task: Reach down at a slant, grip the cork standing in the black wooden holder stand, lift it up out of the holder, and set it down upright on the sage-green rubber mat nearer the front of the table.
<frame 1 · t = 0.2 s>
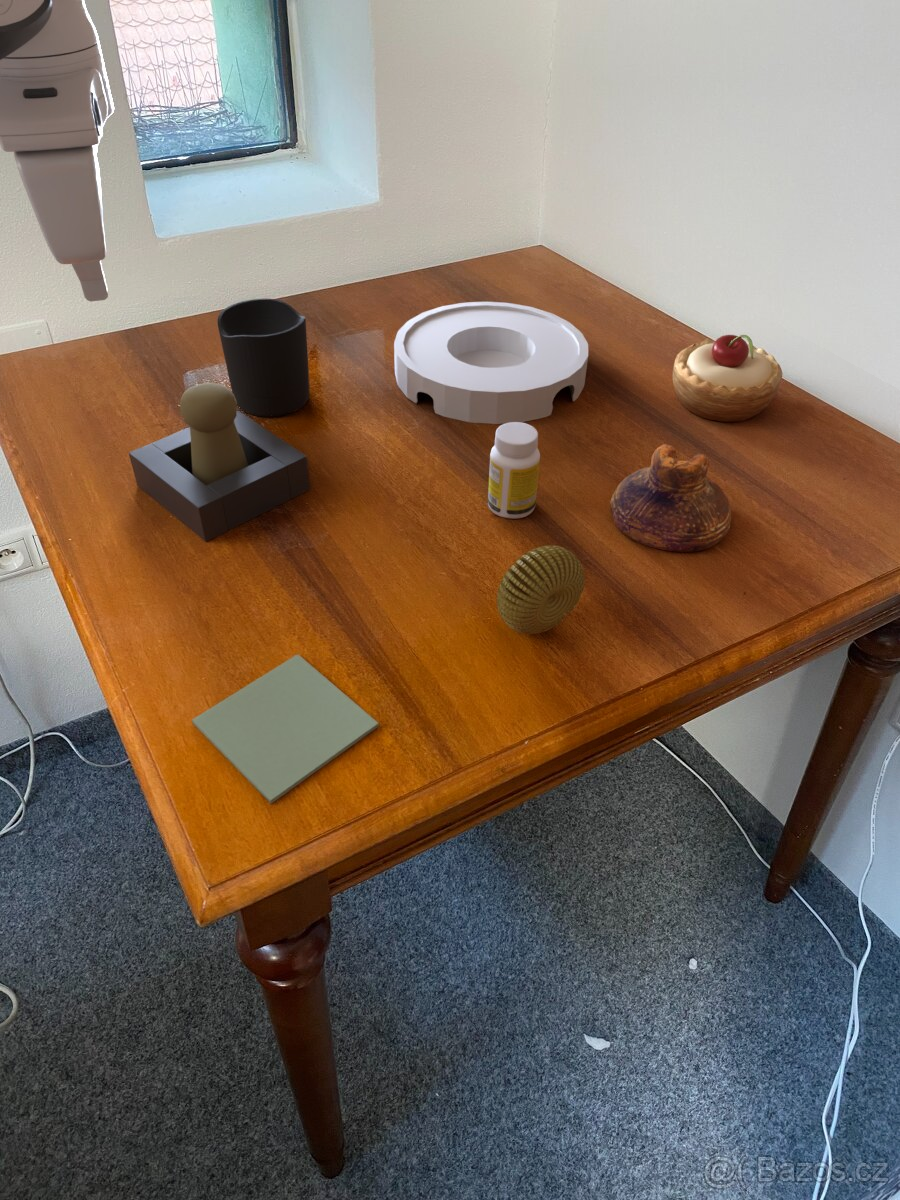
hand: (96, 273, 74), 22 cm above the table, tool pointing down, fingers open, 8 cm apart
supplement bottle: (511, 507, 87), on the table
sculpture: (536, 626, 75), on the table
ashtray: (489, 375, 107), on the table
pastry: (718, 403, 103), on the table
mat: (285, 724, 66), on the table
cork: (224, 489, 89), resting in holder stand
pen holder: (272, 400, 102), on the table
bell: (668, 518, 86), on the table
holder stand: (224, 487, 89), on the table
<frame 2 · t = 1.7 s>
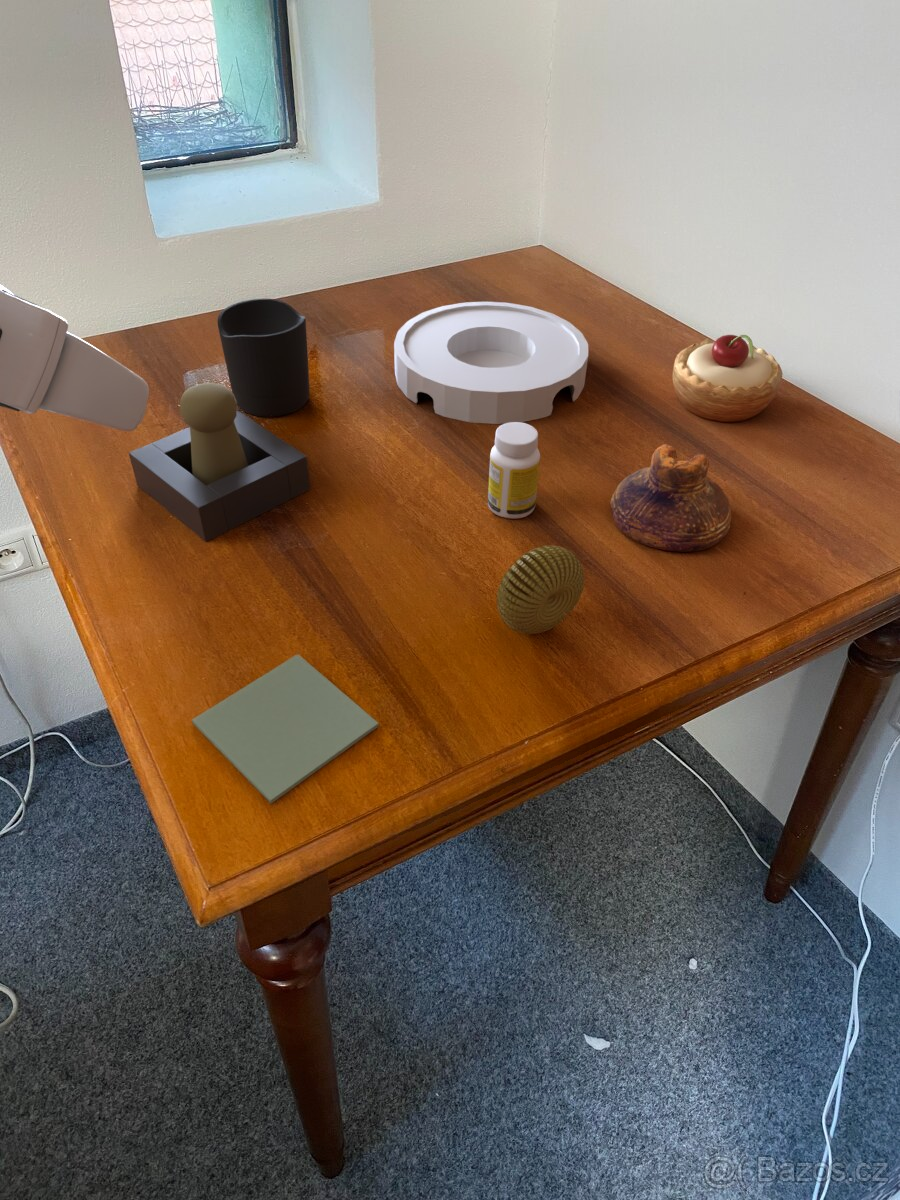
hand: (92, 397, 69), 16 cm above the table, tool tilted 45°, fingers open, 8 cm apart
nothing on the table moved.
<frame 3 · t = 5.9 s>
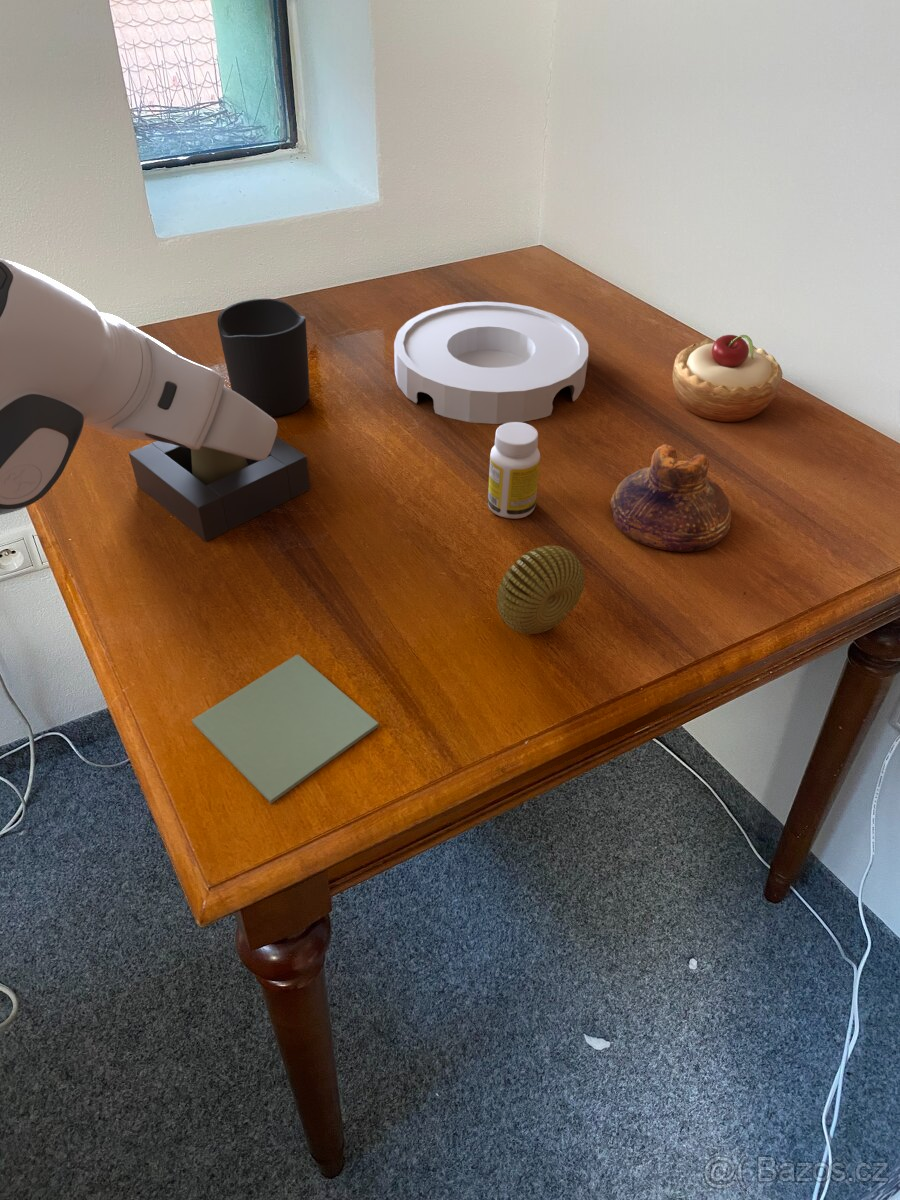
hand: (218, 429, 85), 6 cm above the table, tool tilted 45°, fingers closed on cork, 5 cm apart
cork: (224, 489, 89), resting in holder stand, touching gripper
everything else where it was.
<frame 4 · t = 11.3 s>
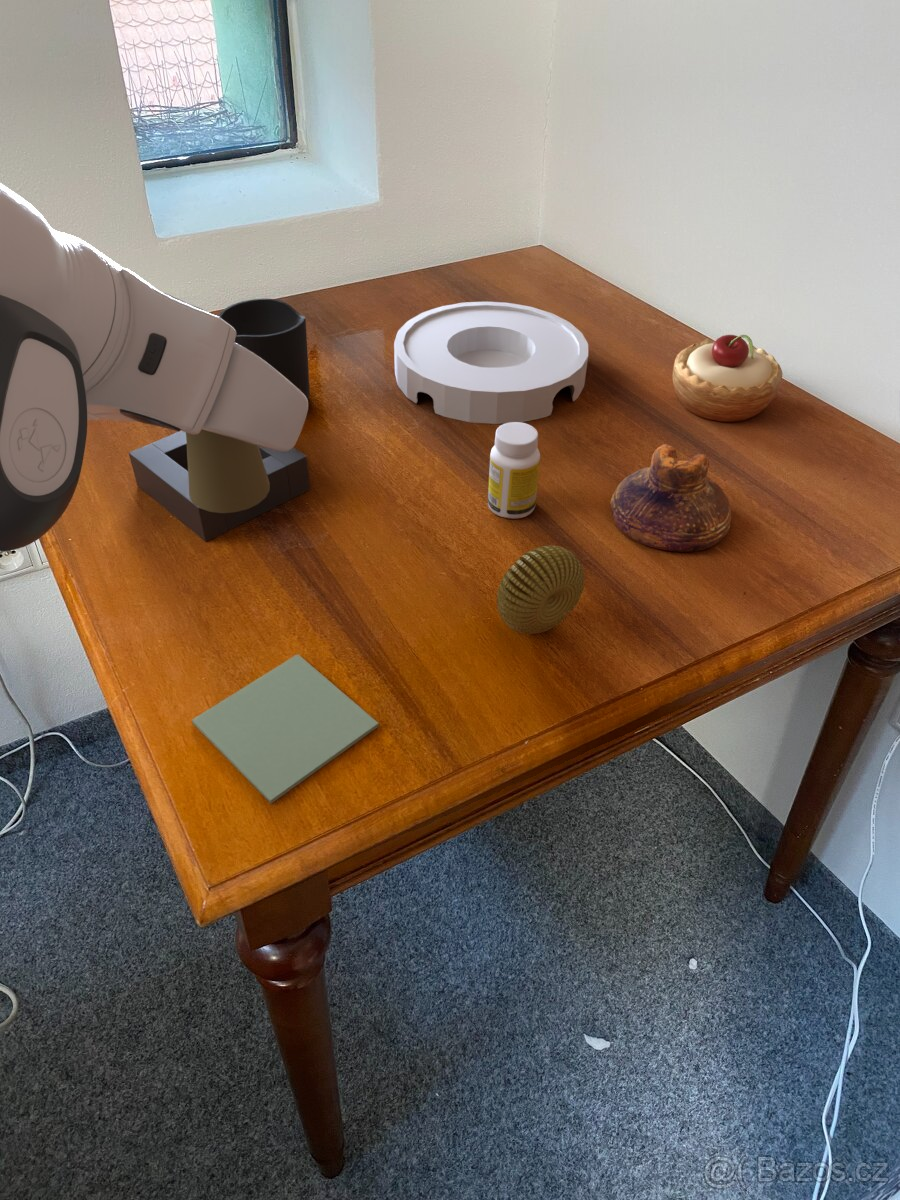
hand: (222, 412, 63), 19 cm above the table, tool tilted 45°, fingers closed on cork, 5 cm apart
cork: (230, 491, 67), point 13 cm above the table, touching gripper
everything else where it was.
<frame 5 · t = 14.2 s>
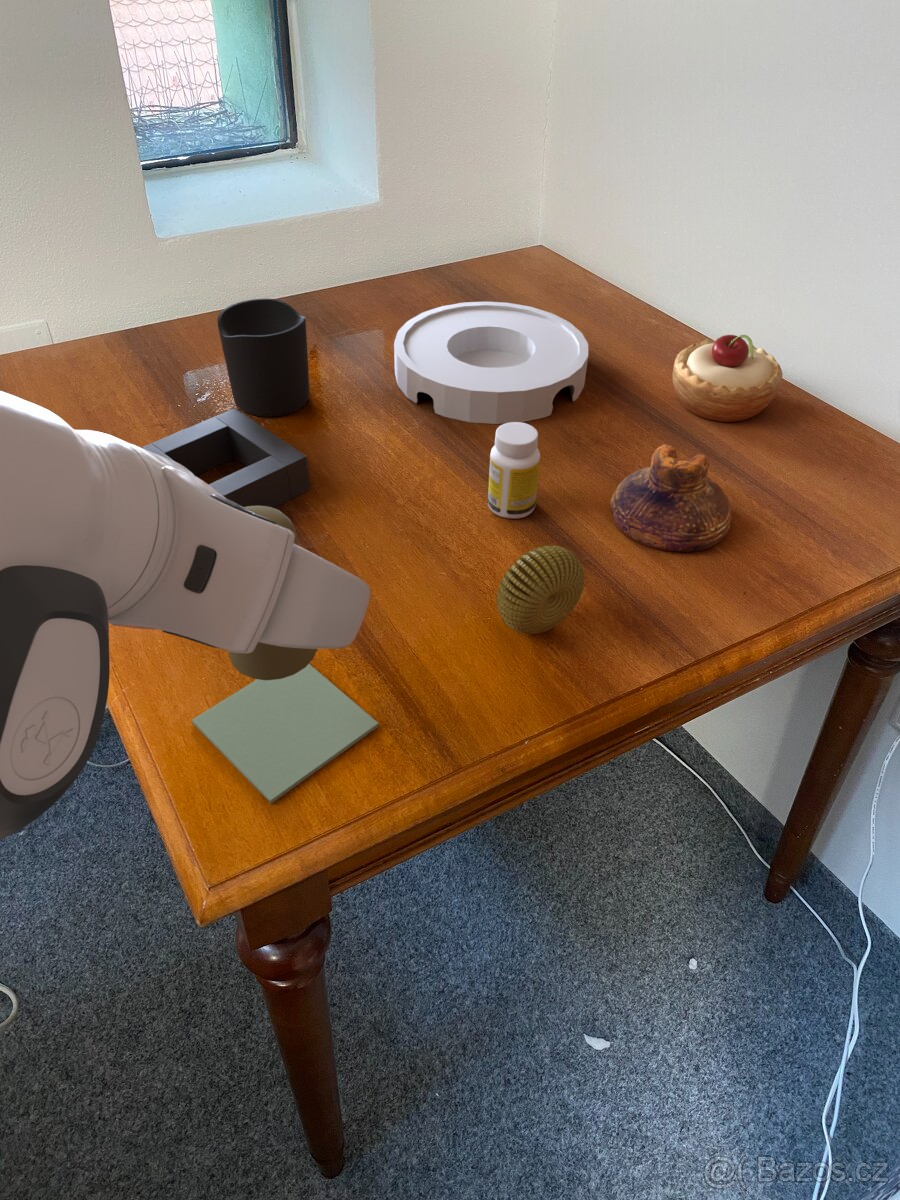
hand: (267, 573, 57), 15 cm above the table, tool tilted 45°, fingers closed on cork, 5 cm apart
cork: (273, 650, 61), point 8 cm above the table, touching gripper
everything else where it was.
when the fingers open (7 cm above the table, at t = 16.8 s): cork stays where it is, resting on mat.
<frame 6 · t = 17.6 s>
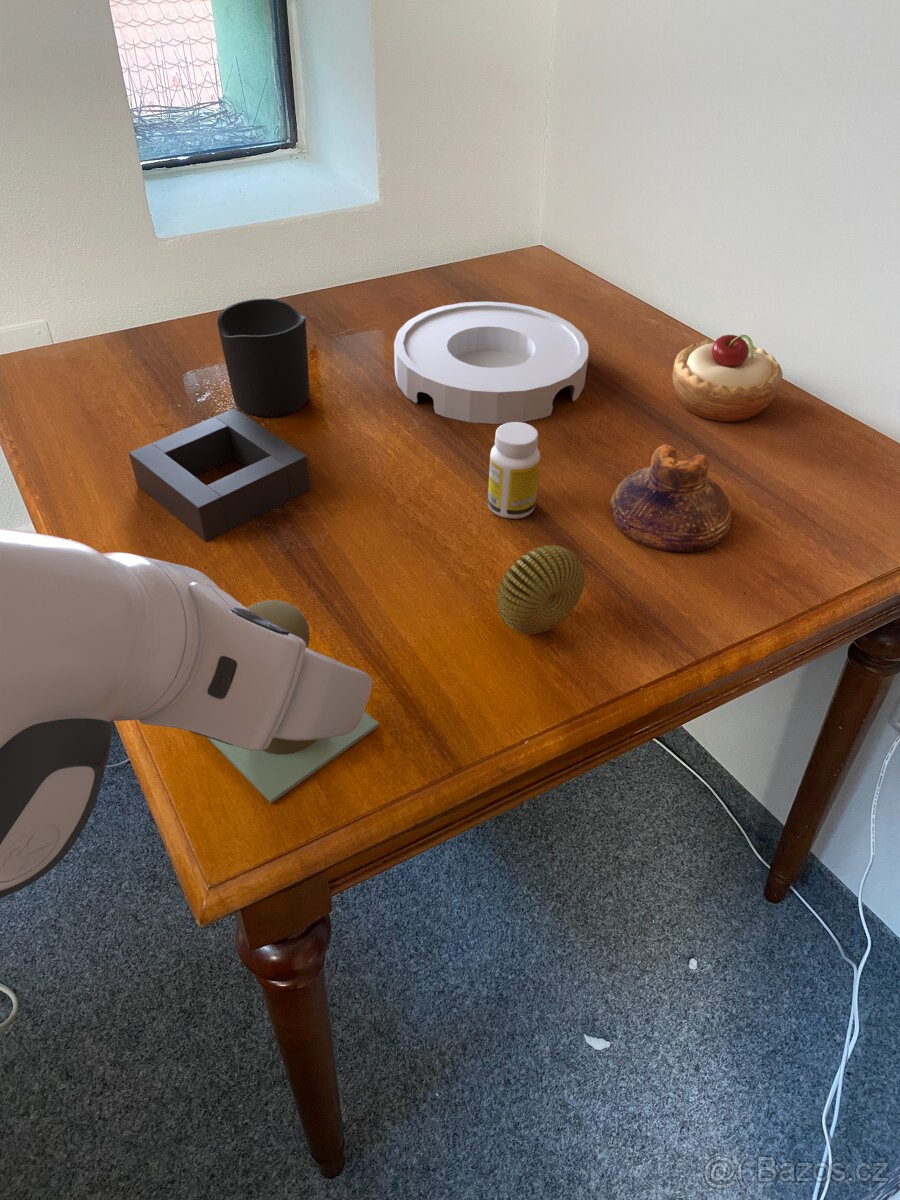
hand: (277, 651, 62), 7 cm above the table, tool tilted 45°, fingers open, 8 cm apart
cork: (286, 723, 66), resting on mat
everything else where it was.
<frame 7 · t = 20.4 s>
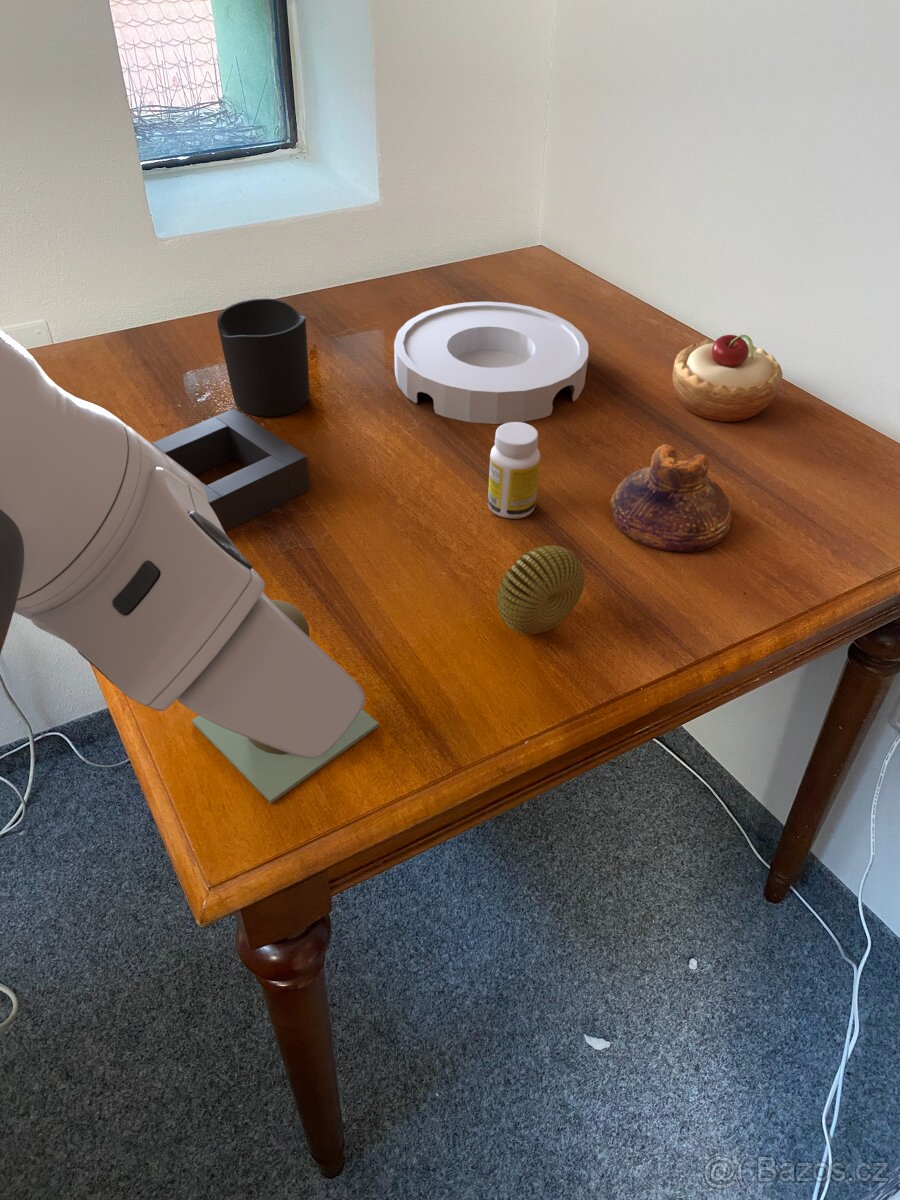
hand: (304, 659, 48), 17 cm above the table, tool tilted 35°, fingers open, 8 cm apart
nothing on the table moved.
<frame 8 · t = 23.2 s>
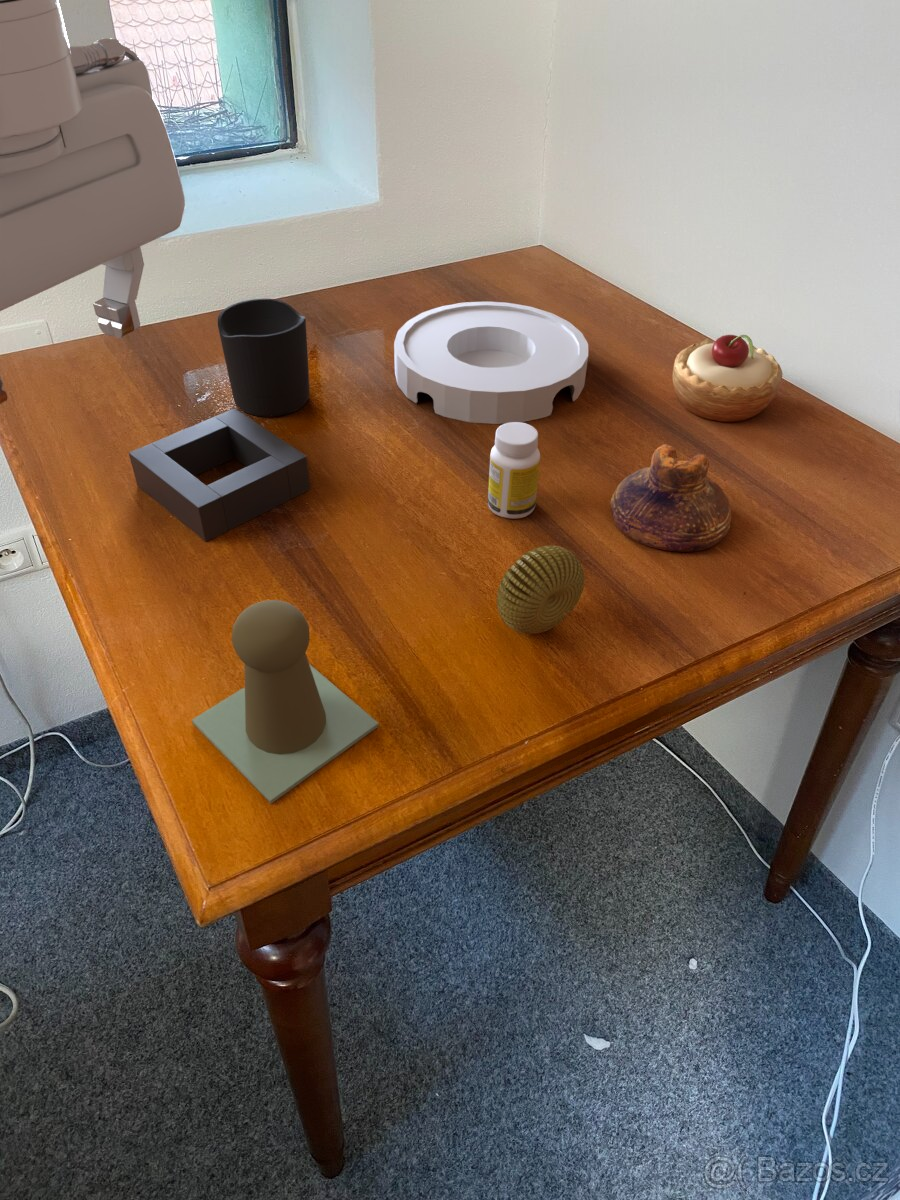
hand: (58, 366, 47), 29 cm above the table, tool pointing down, fingers open, 8 cm apart
nothing on the table moved.
at the end: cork inside the target area on the mat (0.1 cm from its centre), point 0.2 cm above the mat's base; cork tilted 0°; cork touching mat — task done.
